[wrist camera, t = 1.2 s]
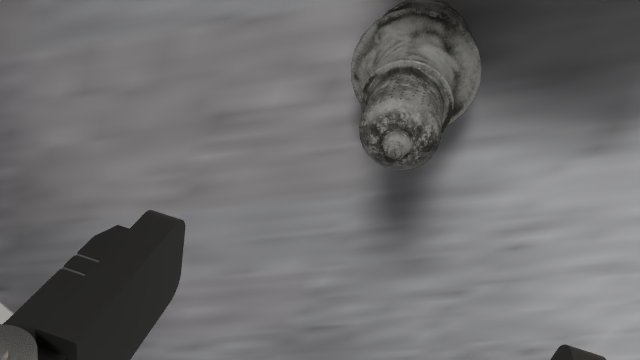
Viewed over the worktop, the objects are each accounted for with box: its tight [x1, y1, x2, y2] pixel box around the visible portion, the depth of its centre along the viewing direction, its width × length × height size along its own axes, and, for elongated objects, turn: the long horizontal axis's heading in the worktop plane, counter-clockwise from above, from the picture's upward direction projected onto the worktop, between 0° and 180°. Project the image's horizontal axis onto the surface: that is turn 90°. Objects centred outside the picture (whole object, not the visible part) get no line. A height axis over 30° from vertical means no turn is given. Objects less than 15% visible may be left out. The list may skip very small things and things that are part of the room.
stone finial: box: [351, 0, 482, 170], centre depth 22 cm, size 6×6×12 cm
